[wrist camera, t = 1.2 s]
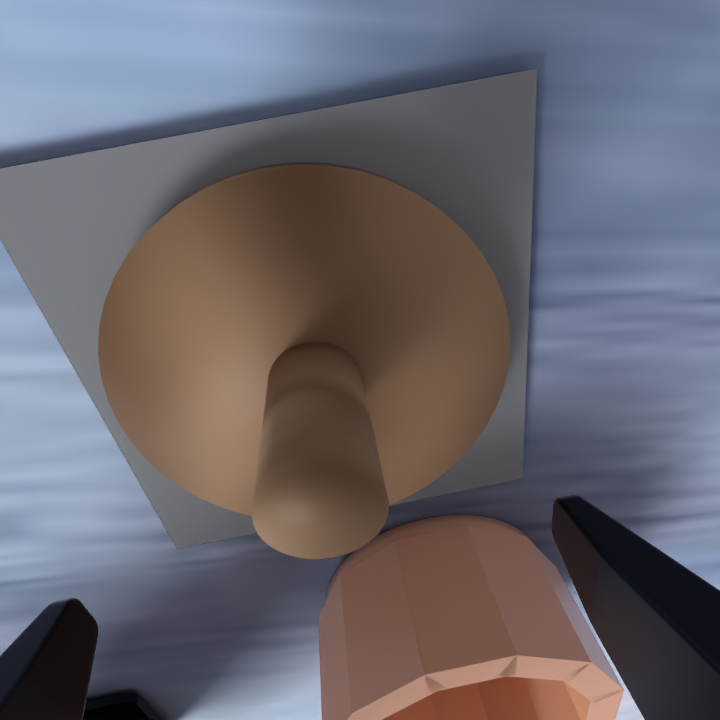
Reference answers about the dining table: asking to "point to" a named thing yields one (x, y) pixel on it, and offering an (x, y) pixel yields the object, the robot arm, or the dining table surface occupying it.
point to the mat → (270, 147)
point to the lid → (304, 349)
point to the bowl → (458, 631)
